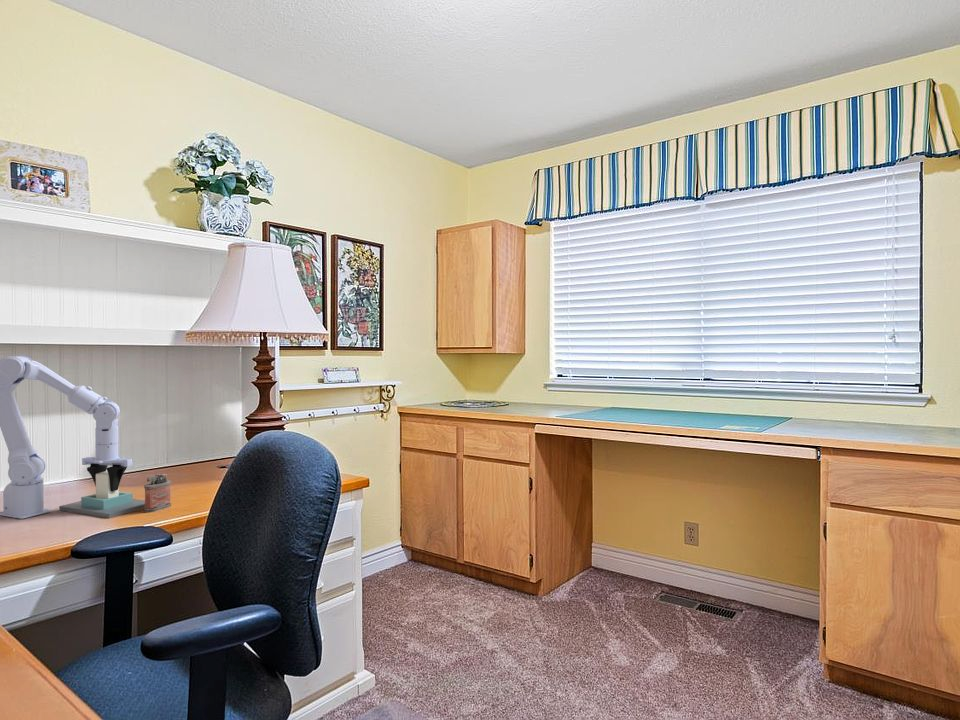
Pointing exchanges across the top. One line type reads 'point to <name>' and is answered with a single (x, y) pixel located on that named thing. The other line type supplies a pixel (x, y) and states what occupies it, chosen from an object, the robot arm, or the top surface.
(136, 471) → the top surface
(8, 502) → the robot arm
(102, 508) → the organizer
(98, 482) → the cream block
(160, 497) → the lighter
